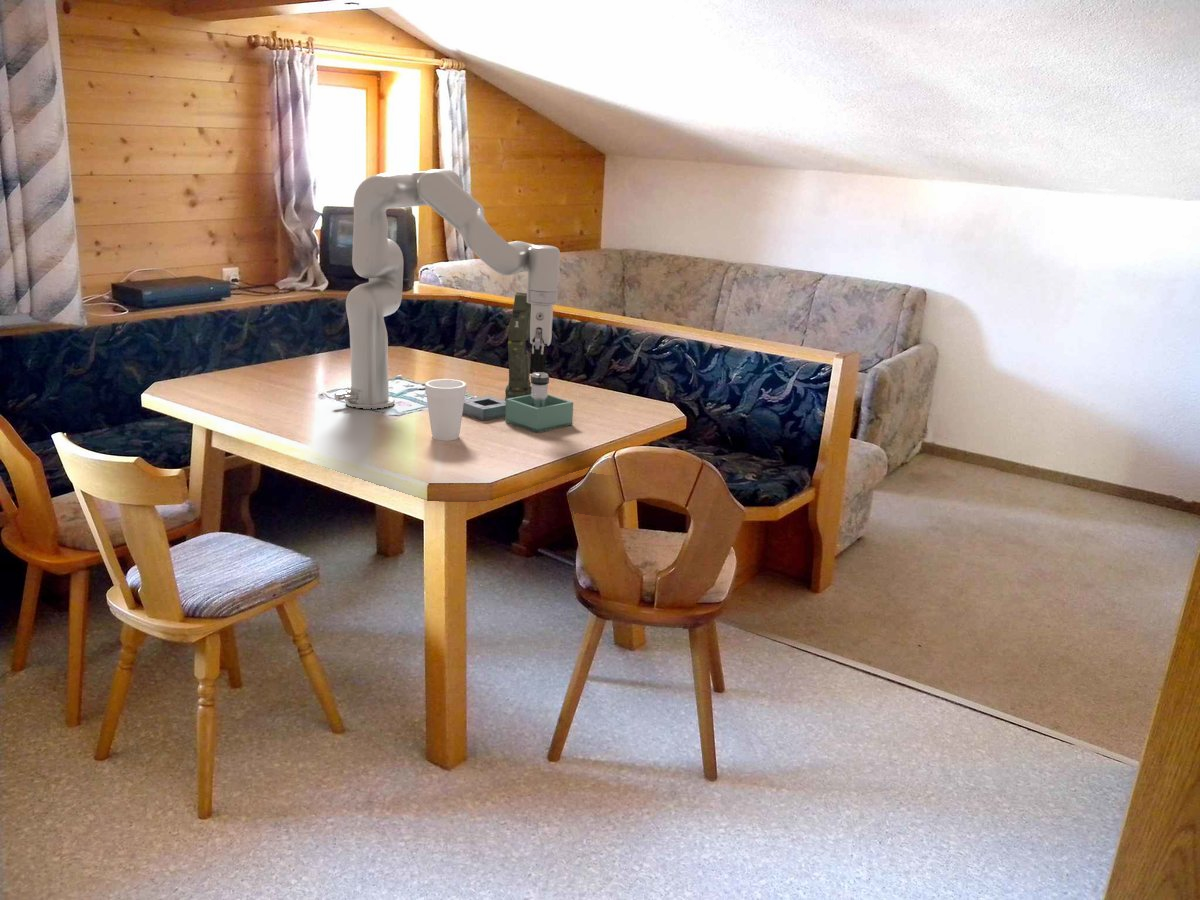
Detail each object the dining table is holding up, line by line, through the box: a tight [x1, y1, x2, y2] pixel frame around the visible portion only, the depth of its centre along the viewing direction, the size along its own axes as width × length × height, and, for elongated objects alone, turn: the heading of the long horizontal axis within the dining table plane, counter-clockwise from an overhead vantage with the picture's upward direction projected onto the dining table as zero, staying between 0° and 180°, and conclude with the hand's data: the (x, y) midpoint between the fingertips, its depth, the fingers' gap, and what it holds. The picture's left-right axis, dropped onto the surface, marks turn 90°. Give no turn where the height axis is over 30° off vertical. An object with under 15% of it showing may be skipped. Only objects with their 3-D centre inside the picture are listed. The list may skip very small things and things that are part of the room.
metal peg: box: [530, 371, 550, 408], centre depth 252 cm, size 5×5×12 cm
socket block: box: [462, 395, 506, 422], centre depth 260 cm, size 10×10×3 cm
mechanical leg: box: [504, 292, 532, 401], centre depth 275 cm, size 14×7×30 cm, turn 168°
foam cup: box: [424, 378, 467, 442], centre depth 237 cm, size 10×9×13 cm
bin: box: [504, 393, 574, 433], centre depth 253 cm, size 12×12×6 cm
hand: (537, 365), depth 250 cm, fingers open, 9 cm apart
